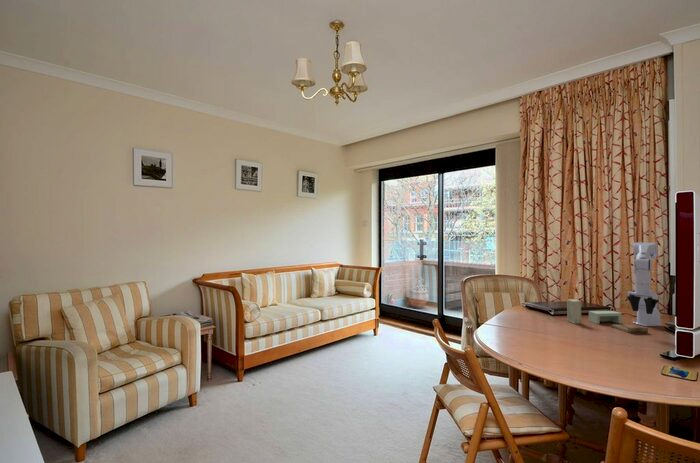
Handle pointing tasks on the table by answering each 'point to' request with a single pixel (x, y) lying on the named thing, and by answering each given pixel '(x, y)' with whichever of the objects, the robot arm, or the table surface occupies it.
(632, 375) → the table surface
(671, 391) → the table surface
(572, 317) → the skincare box
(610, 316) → the shelf
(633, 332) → the board
